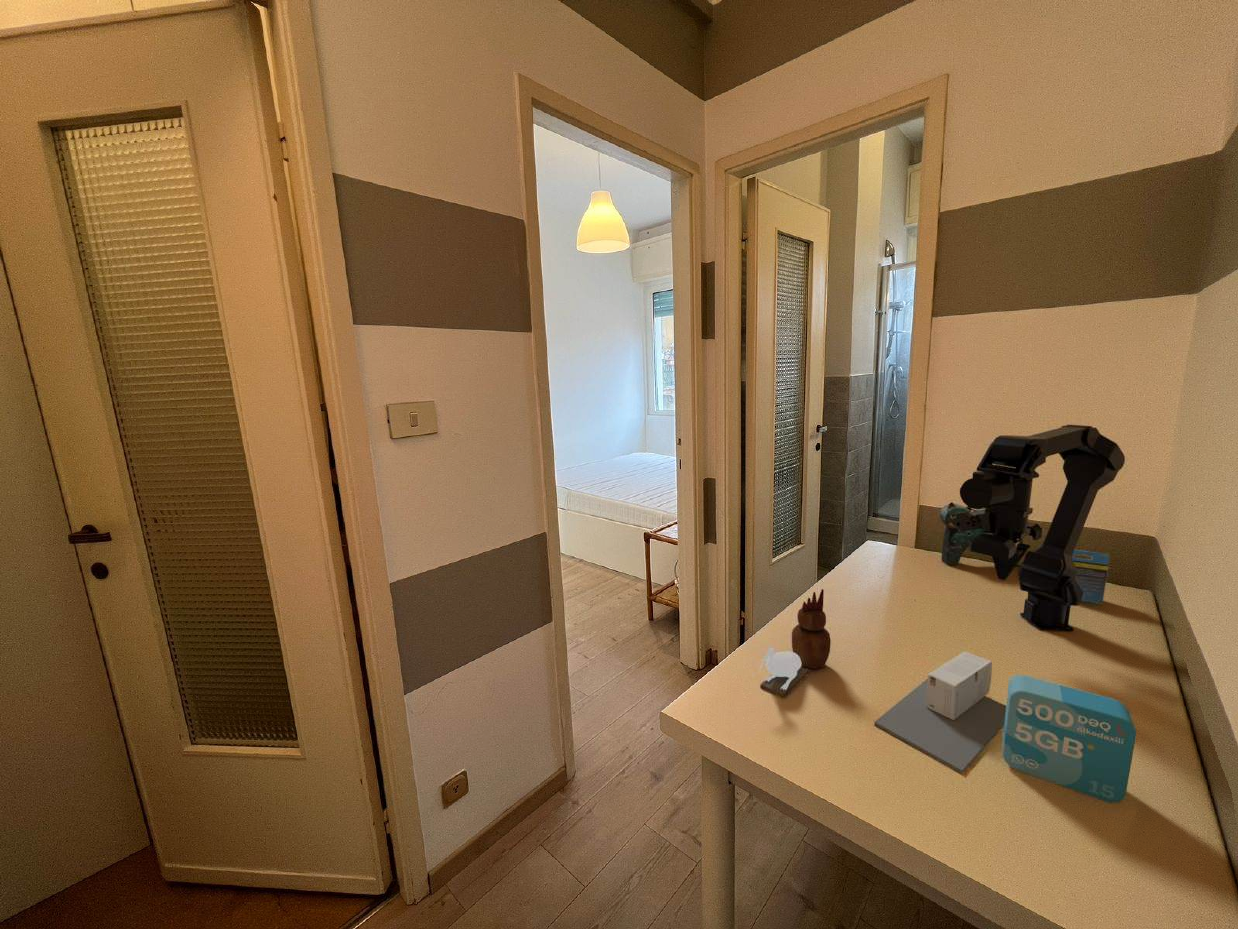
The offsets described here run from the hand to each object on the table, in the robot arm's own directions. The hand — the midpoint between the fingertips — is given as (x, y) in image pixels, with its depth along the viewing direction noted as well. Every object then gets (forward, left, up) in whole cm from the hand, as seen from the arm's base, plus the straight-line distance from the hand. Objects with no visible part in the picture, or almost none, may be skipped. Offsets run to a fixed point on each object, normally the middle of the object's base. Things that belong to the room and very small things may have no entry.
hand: (1001, 579), depth 96 cm
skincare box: (+12, +17, -9) cm, 23 cm away
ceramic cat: (-17, -42, -13) cm, 47 cm away
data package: (+11, +35, -13) cm, 39 cm away
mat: (+20, +25, -13) cm, 35 cm away
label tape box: (-28, -21, -13) cm, 37 cm away
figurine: (+45, +19, -13) cm, 50 cm away
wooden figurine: (+38, +12, -13) cm, 42 cm away
